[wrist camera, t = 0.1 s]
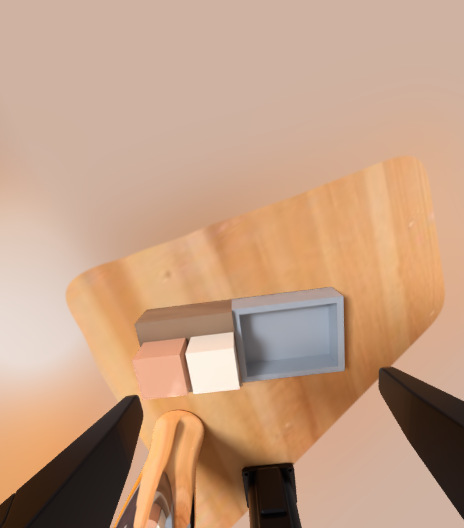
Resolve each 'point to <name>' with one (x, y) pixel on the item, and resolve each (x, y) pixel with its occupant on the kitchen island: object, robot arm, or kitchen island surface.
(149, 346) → the terracotta tile
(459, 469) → the robot arm
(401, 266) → the kitchen island surface
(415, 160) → the kitchen island surface
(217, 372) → the cream tile
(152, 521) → the beer glass
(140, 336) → the dark walnut board
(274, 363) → the slate tray
